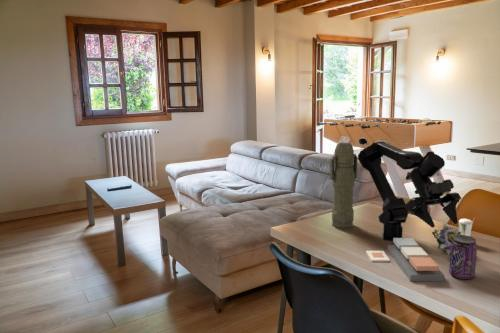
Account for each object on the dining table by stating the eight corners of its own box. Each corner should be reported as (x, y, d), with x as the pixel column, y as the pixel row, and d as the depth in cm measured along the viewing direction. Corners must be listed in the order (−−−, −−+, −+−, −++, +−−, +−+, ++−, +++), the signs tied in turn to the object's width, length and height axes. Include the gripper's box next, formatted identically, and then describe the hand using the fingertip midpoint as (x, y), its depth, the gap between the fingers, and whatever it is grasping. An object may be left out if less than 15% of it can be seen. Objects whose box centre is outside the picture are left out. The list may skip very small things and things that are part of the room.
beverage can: (444, 271, 130) (446, 235, 128) (465, 269, 131) (468, 233, 129) (457, 281, 123) (460, 243, 121) (479, 280, 124) (483, 242, 122)
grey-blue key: (393, 241, 147) (393, 238, 146) (411, 241, 146) (411, 237, 146) (398, 248, 140) (399, 244, 140) (418, 248, 140) (418, 244, 140)
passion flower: (452, 270, 143) (443, 249, 137) (429, 253, 152) (420, 233, 146) (476, 250, 144) (469, 228, 138) (452, 234, 153) (444, 213, 147)
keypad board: (387, 250, 147) (387, 244, 147) (415, 250, 147) (416, 244, 147) (410, 281, 124) (410, 275, 124) (444, 281, 123) (444, 275, 123)
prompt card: (366, 252, 146) (366, 250, 146) (383, 252, 146) (383, 250, 146) (371, 261, 138) (371, 259, 138) (389, 261, 138) (389, 259, 138)
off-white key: (400, 251, 138) (400, 247, 138) (420, 251, 138) (420, 247, 138) (407, 259, 132) (407, 254, 132) (427, 259, 132) (428, 254, 131)
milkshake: (474, 245, 150) (477, 219, 148) (459, 244, 151) (461, 218, 150) (471, 240, 155) (473, 215, 153) (455, 240, 156) (457, 214, 154)
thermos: (324, 224, 176) (325, 143, 170) (347, 220, 181) (349, 141, 174) (337, 230, 168) (339, 145, 162) (360, 226, 173) (363, 143, 167)
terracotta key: (409, 261, 130) (409, 257, 130) (430, 261, 130) (430, 257, 129) (416, 270, 124) (416, 266, 123) (438, 270, 123) (438, 266, 123)
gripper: (413, 173, 131) (436, 217, 123) (459, 169, 137) (484, 210, 129) (395, 191, 140) (416, 233, 132) (439, 186, 146) (461, 225, 138)
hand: (445, 225), depth 133 cm, fingers open, 9 cm apart
